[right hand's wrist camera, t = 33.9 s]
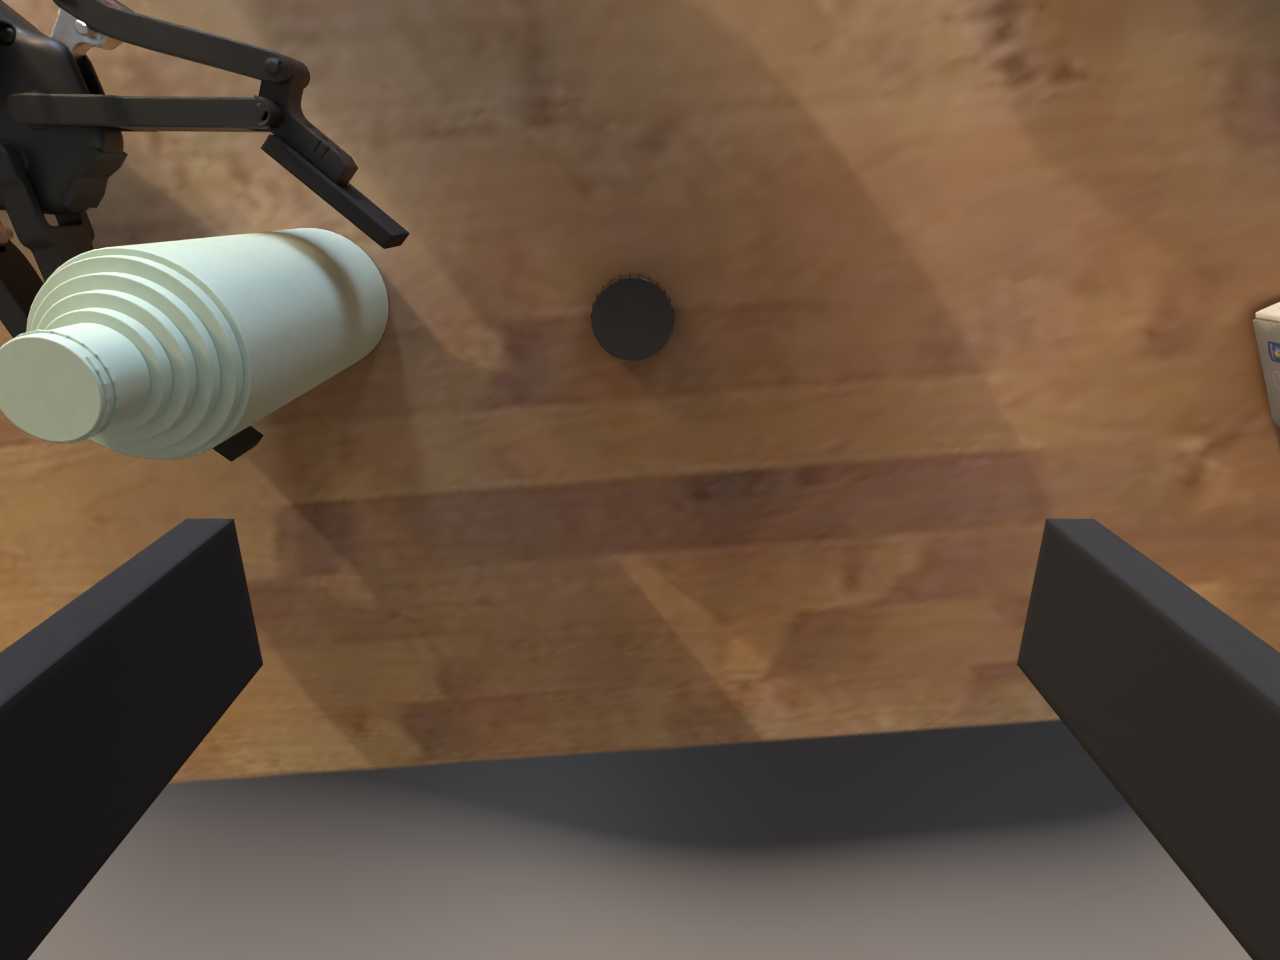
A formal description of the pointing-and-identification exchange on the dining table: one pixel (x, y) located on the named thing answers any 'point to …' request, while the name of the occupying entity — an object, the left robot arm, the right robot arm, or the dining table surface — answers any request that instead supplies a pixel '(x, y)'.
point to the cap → (632, 317)
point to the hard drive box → (1270, 354)
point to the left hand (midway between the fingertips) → (320, 349)
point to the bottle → (189, 338)
